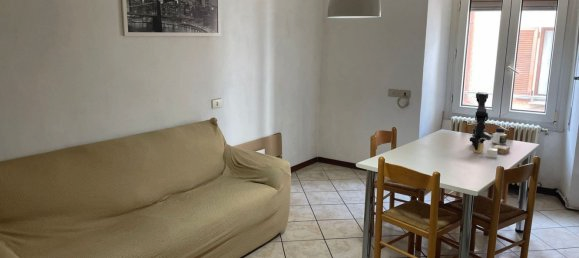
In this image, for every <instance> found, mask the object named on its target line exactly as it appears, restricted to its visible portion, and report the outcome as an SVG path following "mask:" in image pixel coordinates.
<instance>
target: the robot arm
mask: <svg viewBox="0 0 579 258" xmlns="http://www.w3.org/2000/svg"><path fill="white" fill-rule="evenodd" d="M475 99H476V102H477V108H476V111H475V115H474V116H475V117H474V121H475V125H474V126H473V128H472V135H471V137H469V142H471V145H473V146H474V148H475V150H476V151H477V149H478V145H479V143H484V142H485V141H490V140H491V141H492V139H493V134H494V133H493V132H491V131H489V132H487V130H486V122H488V121H489V112H488V111H487V107H486V102H487V100H488V99H489V93H487V92H486V91H477V93H475Z"/></svg>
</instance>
